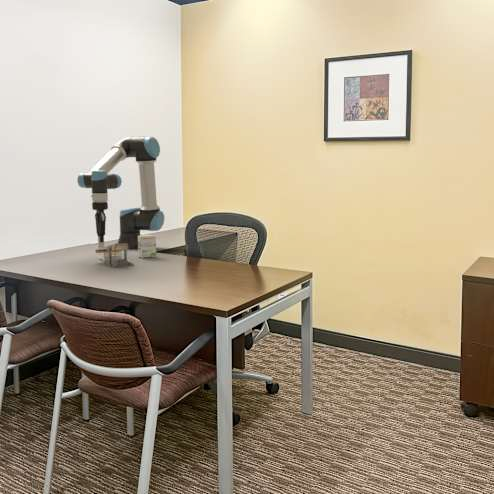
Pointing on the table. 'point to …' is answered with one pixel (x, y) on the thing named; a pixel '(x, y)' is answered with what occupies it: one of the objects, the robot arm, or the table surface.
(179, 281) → the table surface
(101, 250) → the lever
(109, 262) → the stand
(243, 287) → the table surface
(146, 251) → the ink box
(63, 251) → the table surface
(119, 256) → the white open box
